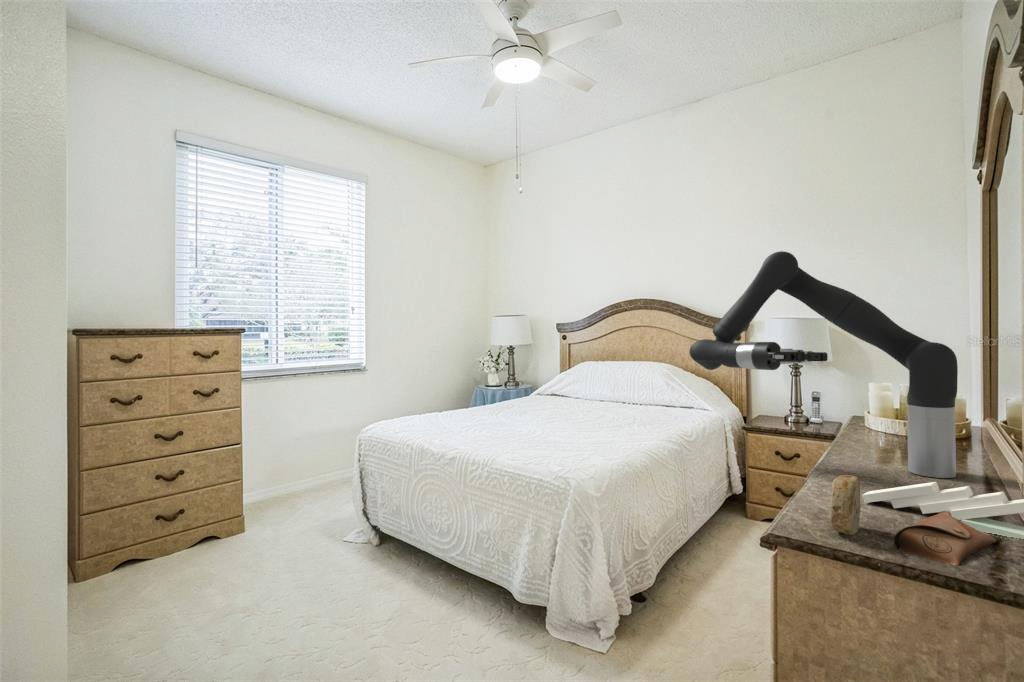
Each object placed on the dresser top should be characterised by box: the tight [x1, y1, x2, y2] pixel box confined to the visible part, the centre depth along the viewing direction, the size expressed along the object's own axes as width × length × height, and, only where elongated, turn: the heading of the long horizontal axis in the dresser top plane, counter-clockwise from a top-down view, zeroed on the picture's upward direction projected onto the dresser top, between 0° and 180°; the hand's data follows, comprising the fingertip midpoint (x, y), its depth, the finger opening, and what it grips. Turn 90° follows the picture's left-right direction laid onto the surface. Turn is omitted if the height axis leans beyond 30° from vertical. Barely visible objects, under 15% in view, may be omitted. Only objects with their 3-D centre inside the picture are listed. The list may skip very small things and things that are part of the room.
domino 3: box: [918, 491, 1009, 515], centre depth 92 cm, size 2×5×12 cm
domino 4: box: [949, 498, 1024, 521], centre depth 88 cm, size 2×5×12 cm
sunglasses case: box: [893, 511, 997, 567], centre depth 82 cm, size 18×7×7 cm
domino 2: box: [889, 485, 974, 509], centre depth 96 cm, size 2×5×12 cm
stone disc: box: [829, 474, 862, 536], centre depth 88 cm, size 10×4×10 cm, turn 135°
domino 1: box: [861, 481, 941, 504], centre depth 100 cm, size 2×5×12 cm
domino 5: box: [960, 517, 1024, 539], centre depth 85 cm, size 2×5×12 cm
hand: (825, 356), depth 120 cm, fingers closed
